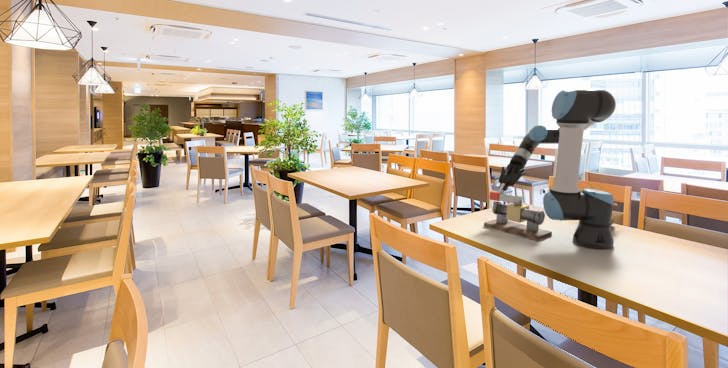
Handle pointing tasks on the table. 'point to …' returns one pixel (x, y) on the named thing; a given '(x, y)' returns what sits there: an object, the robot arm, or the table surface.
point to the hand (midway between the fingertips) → (498, 194)
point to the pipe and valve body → (518, 215)
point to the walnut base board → (518, 230)
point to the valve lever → (506, 198)
